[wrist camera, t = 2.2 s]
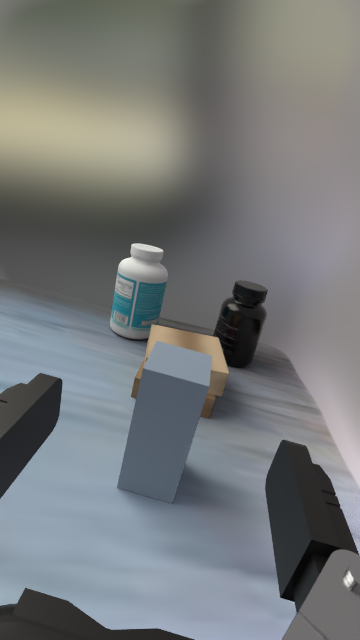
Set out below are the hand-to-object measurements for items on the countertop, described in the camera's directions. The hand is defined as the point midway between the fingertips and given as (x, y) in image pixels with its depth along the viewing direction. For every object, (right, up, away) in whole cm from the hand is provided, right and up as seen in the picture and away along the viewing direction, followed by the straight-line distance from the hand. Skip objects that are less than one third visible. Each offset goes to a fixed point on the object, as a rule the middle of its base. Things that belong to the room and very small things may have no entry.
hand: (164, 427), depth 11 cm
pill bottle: (-7, +2, +40) cm, 41 cm away
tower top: (+1, -2, +28) cm, 28 cm away
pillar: (-2, -9, +16) cm, 18 cm away
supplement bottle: (+8, -2, +40) cm, 41 cm away
